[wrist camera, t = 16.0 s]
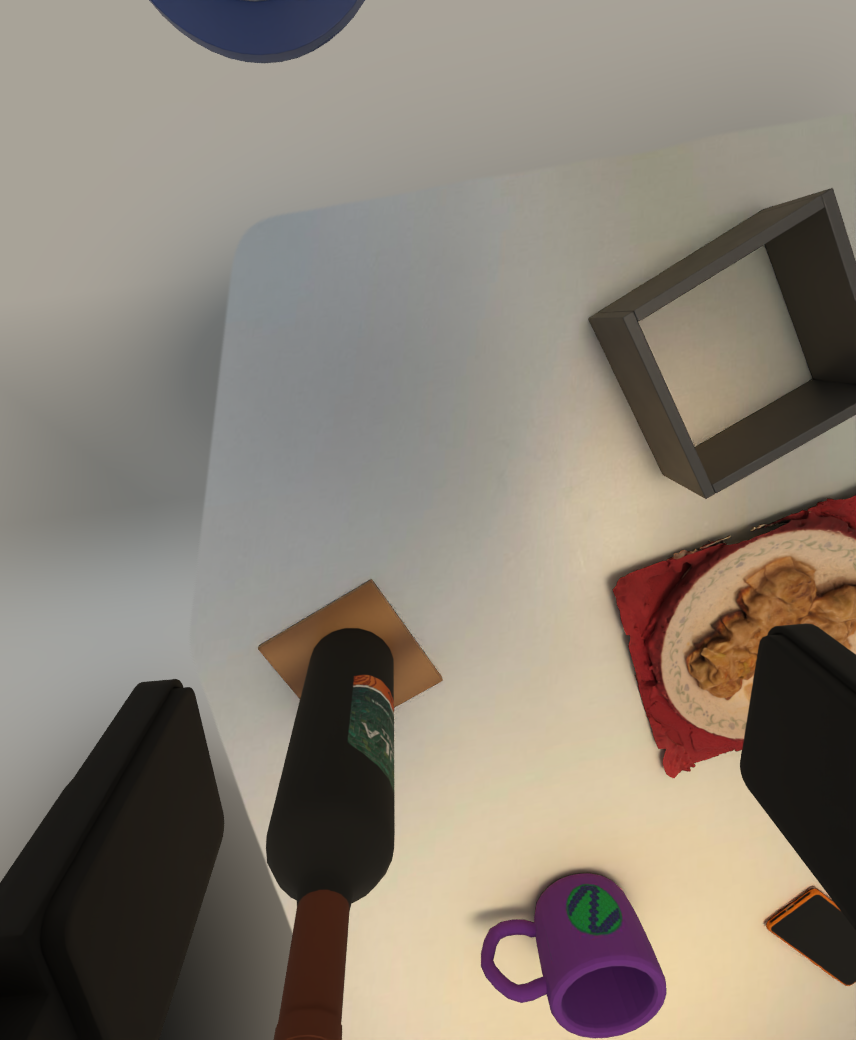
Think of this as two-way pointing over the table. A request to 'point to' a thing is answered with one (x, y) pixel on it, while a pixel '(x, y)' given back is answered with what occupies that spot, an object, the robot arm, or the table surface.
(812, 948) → the smartphone
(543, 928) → the mug
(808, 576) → the plate with food
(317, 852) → the wine bottle
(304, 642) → the cork mat
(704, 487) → the grey square tray frame
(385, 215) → the table surface
